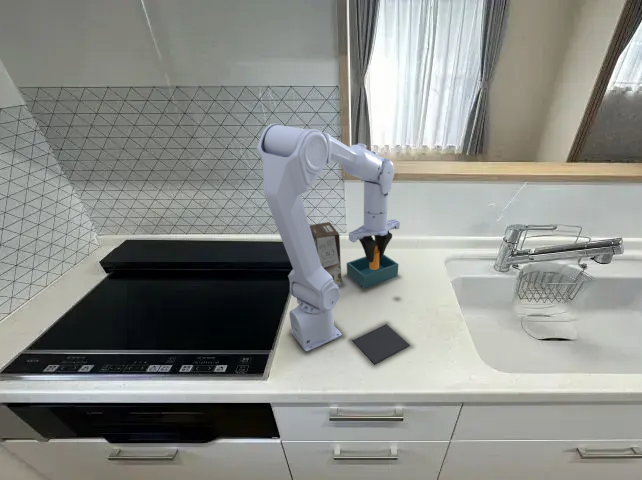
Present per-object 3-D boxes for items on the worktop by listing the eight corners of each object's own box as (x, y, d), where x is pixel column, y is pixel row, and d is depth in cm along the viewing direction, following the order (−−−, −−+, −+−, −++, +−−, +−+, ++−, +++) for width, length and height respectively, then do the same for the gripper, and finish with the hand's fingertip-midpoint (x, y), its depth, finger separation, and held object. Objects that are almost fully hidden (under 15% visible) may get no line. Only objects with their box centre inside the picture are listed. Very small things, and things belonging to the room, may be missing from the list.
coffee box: (342, 285, 92) (340, 234, 83) (321, 290, 91) (315, 238, 81) (333, 270, 99) (330, 221, 89) (313, 274, 97) (307, 224, 88)
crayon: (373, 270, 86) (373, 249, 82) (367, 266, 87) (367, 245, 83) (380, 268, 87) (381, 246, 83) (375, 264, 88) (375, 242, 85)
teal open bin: (364, 290, 91) (364, 276, 88) (347, 275, 97) (346, 262, 94) (397, 277, 96) (398, 264, 94) (379, 264, 102) (379, 251, 100)
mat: (374, 364, 69) (374, 363, 69) (351, 340, 75) (351, 339, 74) (409, 345, 74) (409, 344, 73) (385, 324, 79) (385, 323, 79)
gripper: (360, 222, 71) (360, 274, 79) (409, 208, 78) (404, 257, 86) (343, 212, 76) (345, 262, 84) (391, 200, 83) (388, 247, 91)
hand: (374, 259), depth 85 cm, fingers closed on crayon, 2 cm apart
